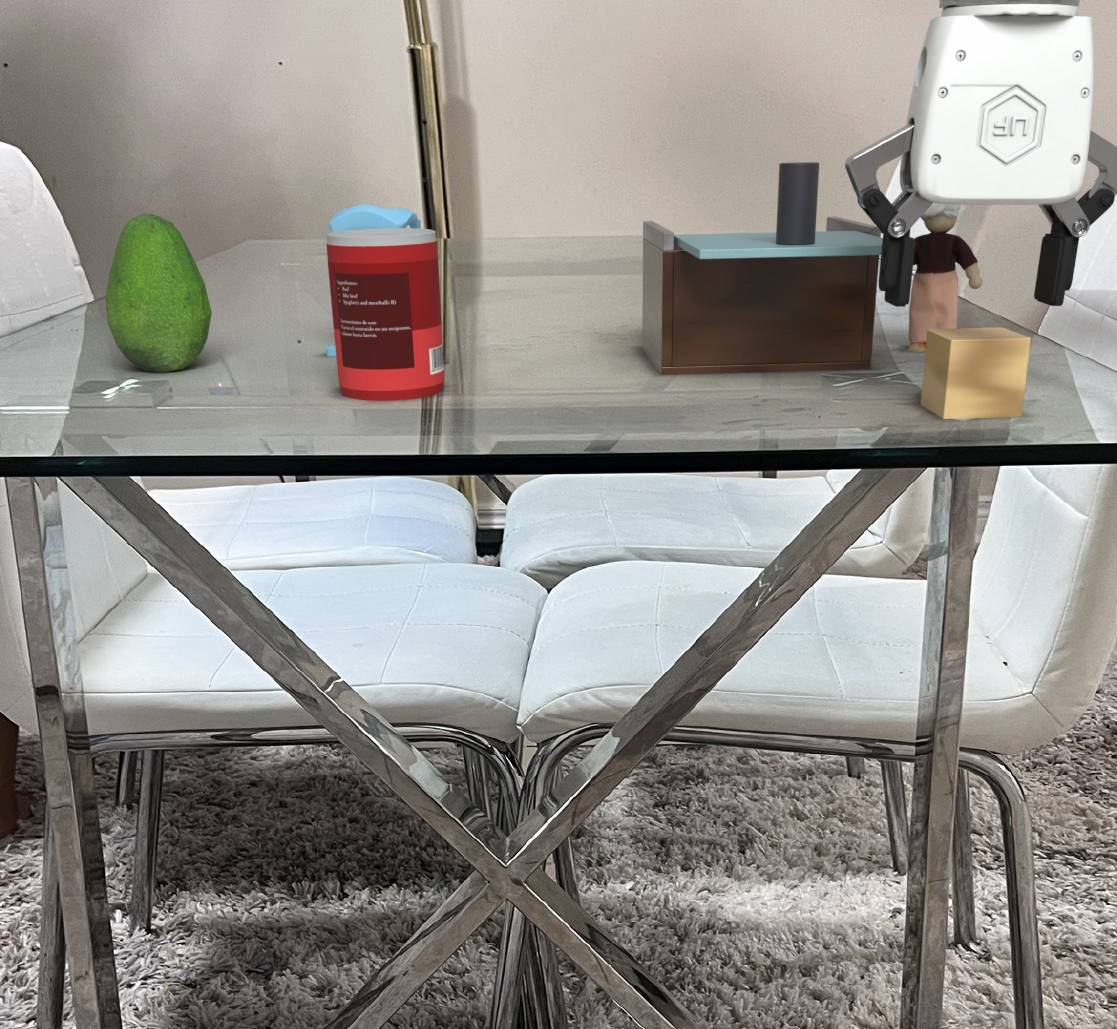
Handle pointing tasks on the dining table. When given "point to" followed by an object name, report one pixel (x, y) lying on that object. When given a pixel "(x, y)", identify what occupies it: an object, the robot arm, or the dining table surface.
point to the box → (757, 309)
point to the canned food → (386, 313)
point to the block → (975, 372)
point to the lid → (786, 227)
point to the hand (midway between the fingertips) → (972, 303)
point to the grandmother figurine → (938, 275)
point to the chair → (370, 225)
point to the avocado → (156, 297)
